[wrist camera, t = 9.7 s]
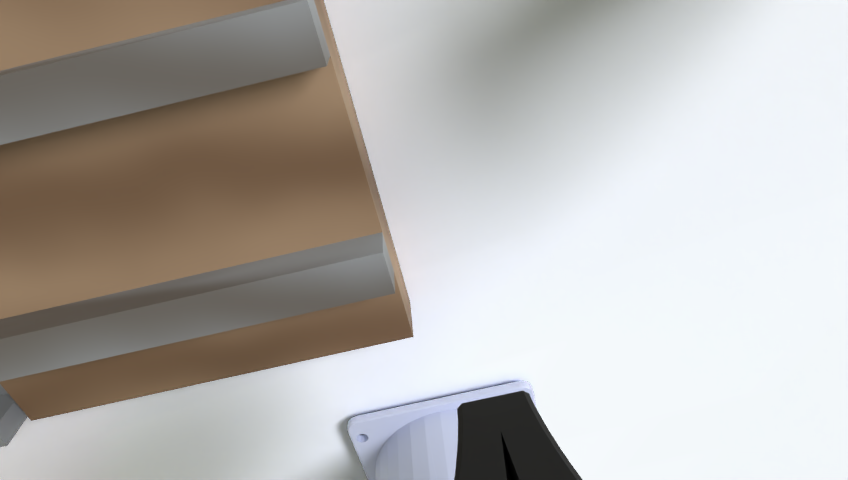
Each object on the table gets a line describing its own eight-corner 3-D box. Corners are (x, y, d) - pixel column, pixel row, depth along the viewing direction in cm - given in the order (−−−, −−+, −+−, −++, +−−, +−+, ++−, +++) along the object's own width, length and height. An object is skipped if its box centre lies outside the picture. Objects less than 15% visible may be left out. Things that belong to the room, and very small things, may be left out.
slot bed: (409, 302, 21) (415, 360, 18) (58, 380, 21) (12, 448, 19) (284, -135, 14) (262, -149, 11) (-235, -1, 14) (-380, 18, 12)
